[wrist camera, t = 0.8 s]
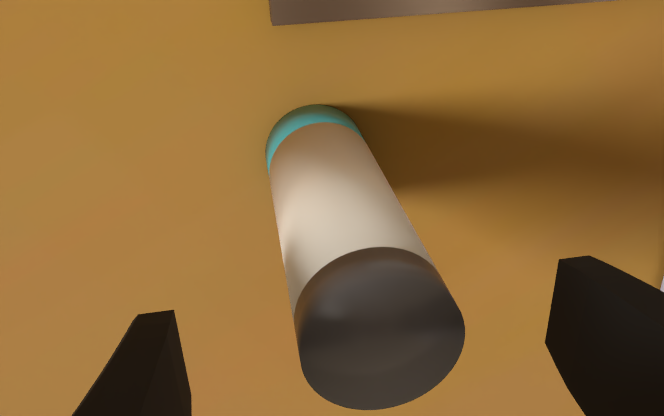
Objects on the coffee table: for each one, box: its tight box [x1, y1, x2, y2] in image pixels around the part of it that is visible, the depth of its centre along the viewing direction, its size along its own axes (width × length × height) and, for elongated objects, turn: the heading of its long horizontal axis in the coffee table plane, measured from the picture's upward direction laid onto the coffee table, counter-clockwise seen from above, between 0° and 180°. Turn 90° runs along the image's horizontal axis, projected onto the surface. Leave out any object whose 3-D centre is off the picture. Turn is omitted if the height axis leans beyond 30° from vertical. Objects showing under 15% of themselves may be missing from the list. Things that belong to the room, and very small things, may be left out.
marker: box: [266, 105, 465, 410], centre depth 15 cm, size 3×3×9 cm
